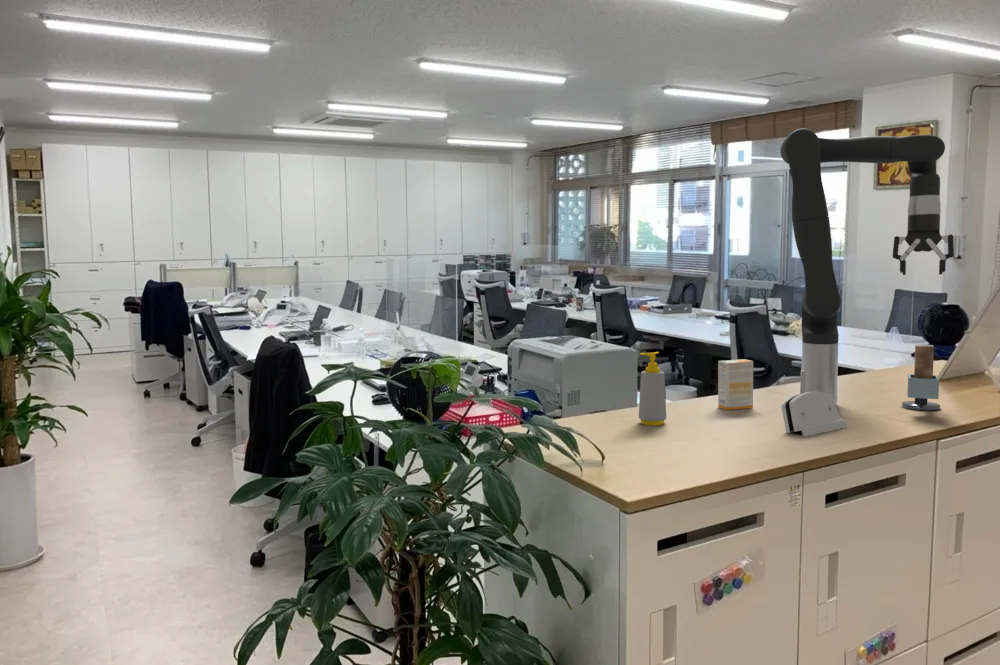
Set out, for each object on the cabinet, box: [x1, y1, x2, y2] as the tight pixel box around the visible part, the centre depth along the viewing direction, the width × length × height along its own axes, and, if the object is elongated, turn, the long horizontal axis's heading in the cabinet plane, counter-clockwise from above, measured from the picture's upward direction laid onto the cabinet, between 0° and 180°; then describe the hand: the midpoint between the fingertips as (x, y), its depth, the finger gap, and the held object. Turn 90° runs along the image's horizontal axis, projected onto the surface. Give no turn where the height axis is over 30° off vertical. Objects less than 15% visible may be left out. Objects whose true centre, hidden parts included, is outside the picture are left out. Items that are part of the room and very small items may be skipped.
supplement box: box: [717, 358, 754, 411], centre depth 208 cm, size 8×5×13 cm, turn 105°
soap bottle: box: [638, 351, 667, 426], centre depth 190 cm, size 7×7×18 cm
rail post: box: [913, 343, 935, 379], centre depth 194 cm, size 4×4×12 cm
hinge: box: [781, 392, 848, 437], centre depth 182 cm, size 17×5×10 cm, turn 123°
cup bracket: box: [901, 373, 941, 412], centre depth 200 cm, size 9×19×14 cm, turn 152°
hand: (922, 274), depth 204 cm, fingers open, 8 cm apart
